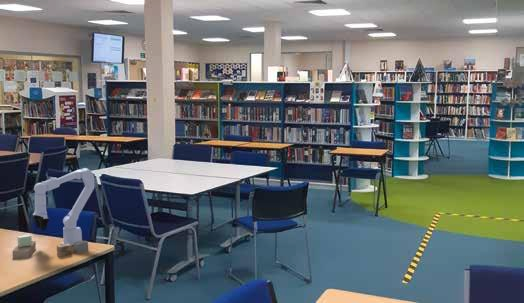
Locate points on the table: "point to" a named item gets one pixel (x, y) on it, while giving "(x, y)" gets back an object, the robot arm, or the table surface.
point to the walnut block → (63, 249)
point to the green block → (24, 240)
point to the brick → (24, 250)
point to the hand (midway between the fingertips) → (41, 229)
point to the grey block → (81, 246)
